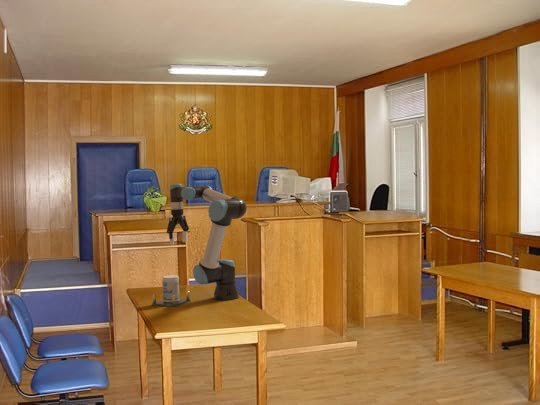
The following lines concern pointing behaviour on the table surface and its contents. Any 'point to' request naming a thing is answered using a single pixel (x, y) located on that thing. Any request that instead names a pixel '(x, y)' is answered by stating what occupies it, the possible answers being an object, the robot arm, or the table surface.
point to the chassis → (173, 303)
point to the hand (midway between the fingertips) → (178, 243)
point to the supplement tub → (170, 288)
